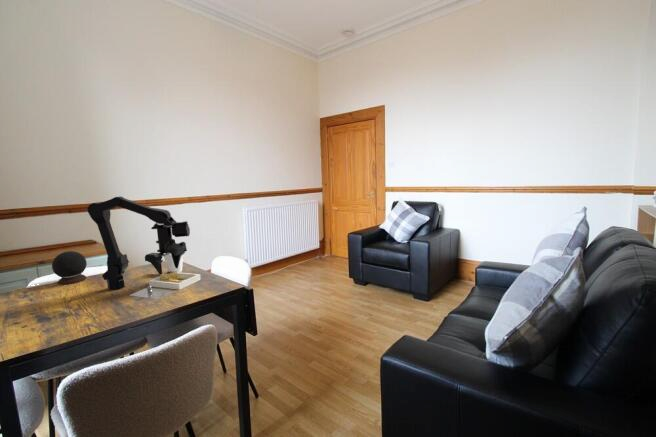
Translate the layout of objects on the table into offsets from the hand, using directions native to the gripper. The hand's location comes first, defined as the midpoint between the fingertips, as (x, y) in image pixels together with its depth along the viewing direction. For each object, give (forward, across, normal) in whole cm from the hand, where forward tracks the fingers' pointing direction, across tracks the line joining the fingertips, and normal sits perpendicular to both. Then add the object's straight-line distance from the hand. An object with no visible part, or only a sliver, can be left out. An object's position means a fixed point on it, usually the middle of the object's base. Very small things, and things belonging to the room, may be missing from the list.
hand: (168, 271), depth 145 cm
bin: (+6, 0, -3) cm, 7 cm away
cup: (+6, +14, +11) cm, 19 cm away
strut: (+6, 0, -3) cm, 7 cm away
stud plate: (+6, -13, -3) cm, 14 cm away
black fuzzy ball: (+6, -8, +54) cm, 55 cm away
